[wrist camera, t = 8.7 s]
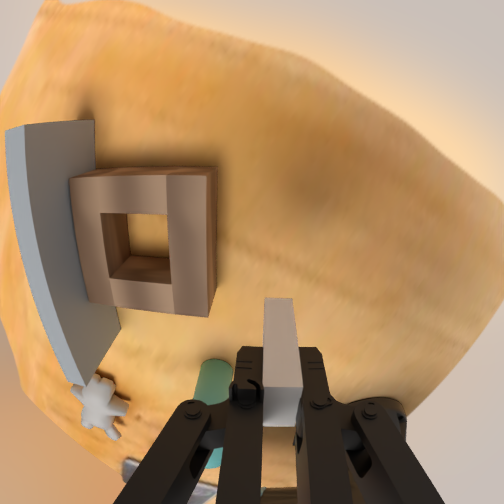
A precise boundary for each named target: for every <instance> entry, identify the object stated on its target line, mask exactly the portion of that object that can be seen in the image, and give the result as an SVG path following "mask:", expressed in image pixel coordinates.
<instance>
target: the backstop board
mask: <svg viewBox="0 0 504 504" xmlns="http://www.w3.org/2000/svg"><path fill="white" fill-rule="evenodd" d="M5 147H6V164H7V175H8V185H9V193H10V200H11V207H12V213H13V219H14V224H15V230H16V235H17V239H18V244H19V248H20V252H21V257H22V261H23V264H24V268H25V272H26V275H27V279H28V282H29V286H30V289H31V292H32V295H33V298H34V301H35V304H36V307H37V310H38V313H39V316H40V318H41V321H42V324H43V326H44V329H45V331H46V334H47V336H48V339H49V341H50V344H51V346H52V348H53V351H54V353H55V355H56V357H57V360H58V362H59V364H60V366H61V368H62V370H63V372H64V374H65V376H66V378H67V380H68V382H71V383H74V384H77V385H81V386H84V387H87V385H88V383H89V382H90V380H91V378H92V376H93V375H94V373H95V371H96V369H97V368H98V366H99V364H100V363H101V361H102V359H103V358H104V356H105V354H106V353H107V351H108V349H109V348H110V346H111V344H112V343H113V341H114V340H115V338H116V336H117V335H118V333H119V332H120V330H121V327H120V323H119V319H118V315H117V311H116V307H115V306H109V305H102V304H96V303H90V302H89V299H88V295H87V291H86V286H85V282H84V277H83V273H82V268H81V263H80V258H79V252H78V247H77V241H76V235H75V228H74V221H73V213H72V205H71V196H70V185H69V178H71V177H74V176H77V175H80V174H83V173H86V172H89V171H92V170H95V169H96V164H95V136H94V120H74V121H59V122H46V123H36V124H27V125H22V126H19V127H16V128H12V129H9V130H6V131H5Z"/></svg>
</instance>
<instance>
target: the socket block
mask: <svg viewBox="0 0 504 504" xmlns="http://www.w3.org/2000/svg"><path fill="white" fill-rule="evenodd" d="M217 169H218V167H200V166H152V167H119V168H99V169H95V170H92V171H89V172H86V173H83V174H80V175H77V176H74V177H71V178H69V185H70V196H71V205H72V213H73V221H74V228H75V235H76V241H77V247H78V252H79V258H80V263H81V268H82V273H83V277H84V282H85V286H86V291H87V295H88V299H89V302H90V303H96V304H102V305H109V306H115V307H122V308H129V309H137V310H144V311H152V312H160V313H169V314H178V315H188V316H198V317H208V316H209V313H210V309H211V306H212V302H213V299H214V295H215V292H216V288H217V287H216V226H217ZM127 213H128V214H162V215H167V220H168V240H169V255H170V258H160V257H146V256H133V255H131V253H130V245H129V235H128V225H127Z"/></svg>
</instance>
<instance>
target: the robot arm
mask: <svg viewBox="0 0 504 504" xmlns="http://www.w3.org/2000/svg"><path fill="white" fill-rule="evenodd" d="M295 423H296V433H295V437H294V441H293V445H295V450H296V472H297V487H283V488H266V487H262V488H261V470H262V437H263V426H269V427H295ZM406 427H407V419H406V415H405V412H404V409H403V406H402V405H401V404H400V403H399V402H398V401H396V400H393V399H389V398H371V399H365V400H361V401H357V402H353V403H350V404H348V405H346V404H342V403H340V402H338V401H336V400H335V399H334V398H333V397H332V396H331V394H330V392H329V387H328V382H327V377H326V372H325V367H324V363H323V358H322V354H321V353H320V351H319V350H318V349H317V348H316V347H298V340H297V332H296V324H295V317H294V309H293V302H292V298H265V304H264V325H263V347H251V346H242V347H241V349H240V350H239V351H238V353H237V358H236V366H235V373H234V381H232V382H231V383H230V386H229V398H228V399H226V400H225V401H223V402H221V403H217V404H212V405H207V404H206V403H204V402H202V401H200V400H195V399H191V400H186V401H184V402H182V403H181V404H180V405H179V406H178V407H177V408H176V410H175V411H174V413H173V414H172V416H171V417H170V419H169V420H168V422H167V423H166V425H165V427H164V428H163V430H162V431H161V433H160V434H159V436H158V437H157V439H156V440H155V442H154V443H153V445H152V446H151V448H150V449H149V451H148V452H147V454H146V455H145V457H144V458H143V460H142V461H141V463H140V464H139V466H138V467H137V469H136V470H135V472H134V473H133V475H132V476H131V478H130V479H129V481H128V482H127V484H126V485H125V487H124V488H123V490H122V491H121V493H120V494H119V496H118V497H117V499H116V500H115V501H114V503H113V504H187V502H188V500H189V498H190V496H191V494H192V492H193V490H194V489H195V487H196V485H197V483H198V481H199V479H200V477H201V475H202V473H203V471H204V469H205V467H206V465H207V463H208V461H209V459H210V457H211V455H212V453H213V451H214V449H217V448H222V447H223V451H222V459H221V466H220V474H219V481H218V489H217V496H216V504H445V503H444V501H443V500H442V498H441V497H440V495H439V493H438V492H437V490H436V488H435V487H434V485H433V484H432V482H431V480H430V479H429V477H428V476H427V474H426V473H425V471H424V469H423V468H422V466H421V465H420V463H419V462H418V460H417V458H416V457H415V455H414V454H413V452H412V450H411V449H410V448H409V446H408V444H407V443H406Z"/></svg>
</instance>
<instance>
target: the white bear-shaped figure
mask: <svg viewBox="0 0 504 504" xmlns="http://www.w3.org/2000/svg"><path fill="white" fill-rule="evenodd" d="M115 389H116V384H113V381H111V380H109V379H107V378H105V377H103V378H101V377H100V375H98V374H96V373H94V375H93V376H92V378H91V380H90V382H89V383H88V385H87V387H84V386H81V385H77V384H73V386H72V387H71V392H72V393H73V395H74V396H75V397H76V398H77V399H78V400H79V401H80V402H81V403H82V404H83V405H84V407H83V409H82V413H81V417H82V418H81V424H82V425H83V426H84V427H85V428H88V429H91V428H93V426H96V427H98V428H101V429H104V430H105V432H106V434H107V436H108V437H109V438H111V439H112V440H115V441H116V440H117V439H119V438H120V437H121V434H120V432H119V431H118V430H117V428H116V427H115V426H114V425H113V423H114V419H115V416H125V415H126V413H127V410H128V408H129V404H128V403H126V402H125V401H123V400H122V399H120V398H119V397H117V396H116V395H114V394H113V393H114V391H115Z"/></svg>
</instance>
